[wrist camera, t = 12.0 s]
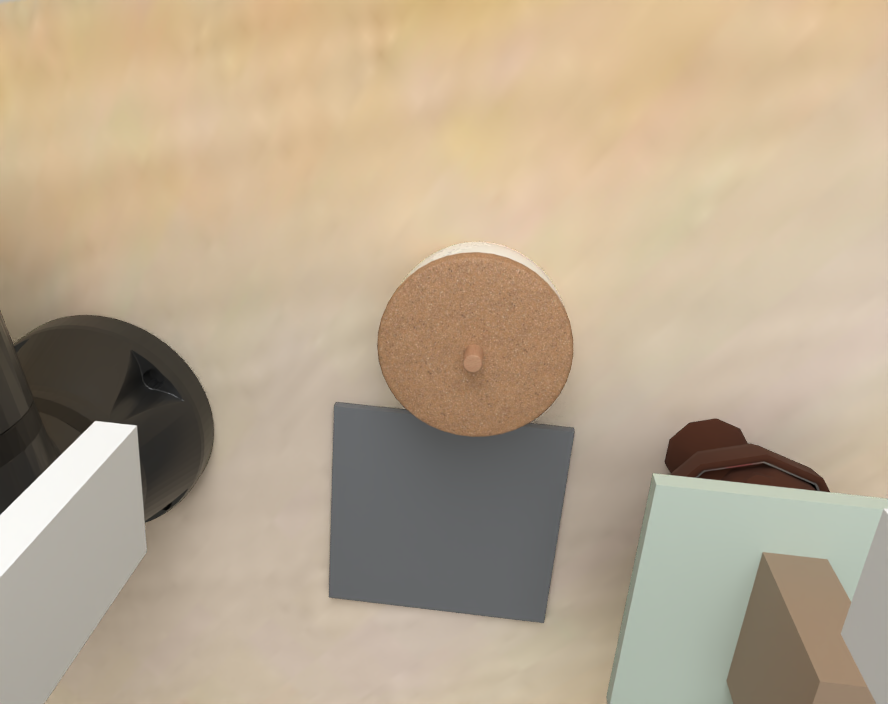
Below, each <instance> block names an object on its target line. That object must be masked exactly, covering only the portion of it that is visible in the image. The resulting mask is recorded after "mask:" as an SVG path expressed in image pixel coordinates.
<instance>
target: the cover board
mask: <svg viewBox="0 0 888 704" xmlns="http://www.w3.org/2000/svg"><path fill="white" fill-rule="evenodd" d="M883 509H888V499H886V498H877V497H868V496H859V495H849V494H840V493H831V492H822V491H812V490H803V489H794V488H785V487H776V486H766V485H757V484H748V483H739V482H729V481H720V480H711V479H702V478H692V477H683V476H674V475H665V474H655V473H653V475H652V480H651V485H650V490H649V494H648V499H647V504H646V509H645V514H644V518H643V523H642V528H641V533H640V538H639V543H638V547H637V552H636V557H635V562H634V567H633V571H632V576H631V581H630V586H629V591H628V595H627V600H626V605H625V610H624V615H623V620H622V624H621V629H620V634H619V639H618V644H617V648H616V653H615V658H614V663H613V668H612V673H611V677H610V682H609V687H608V692H607V704H876V702H875V700H874V698H873V697H872V695H871V693H870V691H869V689H868V687H867V685H866V683H865V681H864V679H863V677H862V675H861V673H860V671H859V669H858V667H857V665H856V663H855V661H854V659H853V657H852V655H851V653H850V651H849V649H848V647H847V645H846V643H845V641H844V639H843V637H842V635H841V631H842V628H843V625H844V622H845V619H846V617H847V614H848V611H849V608H850V605H851V602H852V599H853V596H854V593H855V590H856V587H857V585H858V582H859V579H860V576H861V573H862V570H863V567H864V564H865V561H866V558H867V555H868V552H869V550H870V547H871V544H872V541H873V538H874V535H875V532H876V529H877V526H878V523H879V520H880V517H881V515H882V512H883Z"/></svg>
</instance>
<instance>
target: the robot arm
mask: <svg viewBox="0 0 888 704" xmlns="http://www.w3.org/2000/svg"><path fill="white" fill-rule="evenodd" d="M213 436H214V429H213V419H212V413H211V409H210V406H209V402H208V399H207V397H206V395H205V392H204V390H203V388H202V386H201V384H200V382H199V381H198V379H197V377H196V376H195V375H194V373H193V372H192V370H191V369H190V368H189V366H188V365H187V364H186V363H185V362H184V361H183V359H182V358H181V357H180V356H179V355H178V354H177V353H176V352H175V351H173V350H172V349H171V348H170V347H169V346H168V345H166V344H165V343H164V342H162V341H161V340H160V339H158V338H157V337H155V336H153V335H152V334H150V333H148V332H147V331H145V330H143V329H141V328H139V327H136V326H134V325H132V324H129V323H126V322H123V321H120V320H117V319H113V318H108V317H102V316H92V315H79V316H69V317H64V318H59V319H56V320H53V321H50V322H48V323H45V324H43V325H41V326H39V327H37V328H36V329H34V330H33V331H31V332H30V333H28V334H27V335H25V336H24V337H22V338H21V339H20V340H18V341H17V342H15V343H14V344H13V342H12V340H11V337H10V335H9V332H8V329H7V327H6V324H5V321H4V319H3V316H2V314H1V311H0V704H44V703H45V702H46V700H47V699H48V697H49V696H50V694H51V693H52V691H53V690H54V689H55V687H56V686H57V684H58V683H59V681H60V680H61V678H62V677H63V675H64V674H65V672H66V671H67V669H68V668H69V666H70V665H71V663H72V662H73V660H74V659H75V657H76V656H77V655H78V653H79V652H80V650H81V649H82V647H83V646H84V644H85V643H86V641H87V640H88V638H89V637H90V635H91V634H92V632H93V631H94V629H95V628H96V626H97V625H98V623H99V622H100V620H101V619H102V618H103V616H104V615H105V613H106V612H107V610H108V609H109V607H110V606H111V604H112V603H113V601H114V600H115V598H116V597H117V595H118V594H119V592H120V591H121V589H122V588H123V586H124V585H125V584H126V582H127V581H128V579H129V578H130V576H131V575H132V573H133V572H134V570H135V569H136V567H137V566H138V564H139V563H140V561H141V560H142V558H143V557H144V555H145V554H146V552H147V546H146V533H145V522H148V521H151V520H153V519H155V518H157V517H159V516H161V515H163V514H164V513H166V512H168V511H169V510H171V509H172V508H173V507H175V506H176V505H177V504H178V503H179V502H180V501H181V500H182V499H183V498H184V497H185V496H186V495H187V494H188V493H189V491H190V490H191V489H192V487H193V486H194V484H195V483H196V481H197V480H198V478H199V477H200V475H201V474H202V472H203V471H204V469H205V467H206V465H207V463H208V460H209V457H210V454H211V450H212V445H213ZM841 635H842V637H843V639H844V641H845V643H846V645H847V647H848V649H849V651H850V653H851V655H852V657H853V659H854V661H855V663H856V665H857V667H858V669H859V671H860V673H861V675H862V677H863V679H864V681H865V683H866V685H867V687H868V689H869V691H870V693H871V695H872V697H873V698H874V700H875V702H876V704H888V509H883V512H882V515H881V517H880V520H879V523H878V526H877V529H876V532H875V535H874V538H873V541H872V544H871V547H870V550H869V552H868V555H867V558H866V561H865V564H864V567H863V570H862V573H861V576H860V579H859V582H858V585H857V587H856V590H855V593H854V596H853V599H852V602H851V605H850V608H849V611H848V614H847V617H846V619H845V622H844V625H843V628H842V631H841Z"/></svg>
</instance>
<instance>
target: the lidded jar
mask: <svg viewBox="0 0 888 704" xmlns="http://www.w3.org/2000/svg"><path fill="white" fill-rule="evenodd" d="M377 348H378V357H379V363H380V366H381V370H382V373H383V376H384V378H385V380H386V382H387V384H388V387H389V388H390V390H391V391H392V393H393V394H394V396H395V397H396V399H397V400H398V401H399V402H400V403H401V404H402V405H403V406H404V407H405V408H406V409H407V410H408V411H409V412H410V413H412V414H413V415H414V416H415V417H416V418H418V419H420V420H421V421H423V422H425V423H426V424H428V425H430V426H432V427H434V428H437V429H439V430H441V431H444V432H448V433H452V434H456V435H462V436H470V437H484V436H493V435H499V434H503V433H506V432H510V431H513V430H516V429H518V428H520V427H522V426H524V425H526V424H528V423H530V422H531V421H533V420H534V419H536V418H537V417H539V416H540V415H541V414H542V413H543V412H544V411H546V410H547V409H548V408H549V407H550V406H551V405H552V403H553V402H554V401H555V400H556V398H557V397H558V396H559V394H560V393H561V391H562V389H563V387H564V385H565V383H566V381H567V378H568V375H569V373H570V370H571V365H572V359H573V337H572V331H571V326H570V321H569V319H568V316H567V313H566V310H565V308H564V305H563V302H562V300H561V297H560V295H559V293H558V291H557V290H556V288H555V286H554V284H553V283H552V281H551V280H550V278H549V277H548V276H547V275H546V273H545V272H544V271H543V270H542V269H541V268H540V267H539V266H538V265H537V264H536V263H534V262H533V261H532V260H531V259H529V258H528V257H526V256H525V255H523V254H522V253H520V252H518V251H516V250H514V249H512V248H509V247H507V246H504V245H500V244H496V243H490V242H481V241H479V242H465V243H460V244H455V245H452V246H449V247H446V248H444V249H441V250H439V251H437V252H435V253H433V254H432V255H430V256H428V257H426V258H425V259H424V260H423V261H421V262H420V263H419V264H418V265H416V266H415V267H414V268H413V269H412V271H411V272H410V273H409V274H408V275H407V276H406V277H405V278H404V280H403V281H402V283H401V284H400V286H399V287H398V288H397V290H396V291H395V293H394V294H393V296H392V297H391V299H390V301H389V302H388V304H387V307H386V309H385V311H384V314H383V316H382V319H381V323H380V327H379V331H378V345H377Z"/></svg>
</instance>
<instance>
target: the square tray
mask: <svg viewBox="0 0 888 704" xmlns="http://www.w3.org/2000/svg"><path fill="white" fill-rule="evenodd" d="M573 437H574V428H571V427H562V426H553V425H543V424H534V423H528V424H526V425H524V426H522V427H520V428H518V429H516V430H513V431H510V432H506V433H503V434H499V435H493V436H484V437H470V436H462V435H456V434H452V433H448V432H444V431H441V430H439V429H437V428H434V427H432V426H430V425H428V424H426V423H425V422H423V421H421V420H420V419H418V418H416V417H415V416H414V415H413V414H412V413H410V412H409V411H408V410H405V409H396V408H386V407H377V406H368V405H359V404H349V403H340V402H336V403H335V405H334V433H333V469H332V505H331V541H330V577H329V597H330V598H339V599H347V600H355V601H364V602H372V603H381V604H389V605H397V606H406V607H414V608H422V609H431V610H439V611H448V612H456V613H464V614H473V615H481V616H489V617H498V618H506V619H514V620H523V621H531V622H540V623H544V619H545V613H546V607H547V600H548V594H549V588H550V582H551V575H552V569H553V563H554V557H555V550H556V544H557V538H558V531H559V525H560V519H561V513H562V506H563V500H564V494H565V488H566V481H567V475H568V469H569V463H570V456H571V450H572V444H573Z"/></svg>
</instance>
